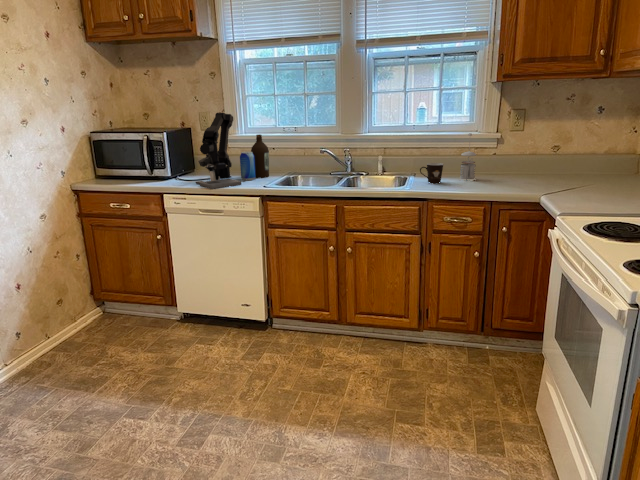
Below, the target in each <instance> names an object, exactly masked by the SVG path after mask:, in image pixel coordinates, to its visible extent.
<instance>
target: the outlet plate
mask: <svg viewBox="0 0 640 480" xmlns="http://www.w3.org/2000/svg"><path fill="white" fill-rule="evenodd" d="M199 186H200V187H202V188H206V189H209V190H216V189H217V190H218V189H225V188H229V186H231V187H236V186H242V181H241V180H237V179H233V178H230V177H229V178H220V180H214V181H210V180H207V181H204V182H200V185H199Z"/></svg>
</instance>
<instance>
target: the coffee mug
mask: <svg viewBox="0 0 640 480" xmlns="http://www.w3.org/2000/svg"><path fill="white" fill-rule="evenodd" d="M423 169H425V170H426V171H427V175H426V174H424V173H423V172H422V170H423ZM443 169H444V163H443V162H442V163H440V162H429V163H426V166H421V167H420V168H419V172H420V174H421V175H423V176H424V177H425V178H427V183H428V182H430V183H439V182H440V183H441V180H442V174H443ZM430 183H429V184H430ZM440 183H439V184H440Z"/></svg>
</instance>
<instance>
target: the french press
mask: <svg viewBox="0 0 640 480" xmlns="http://www.w3.org/2000/svg"><path fill="white" fill-rule="evenodd" d="M467 136H469V137H471V136H473V134H472V133H468V135H467ZM468 143H469V144H468V145H469V147H468V151H465V152H462V153H461V154H460V156H462V157H467V159H468V160H462V161H461V163H462V164H460V171H459V173H460V176H459V178H460V179H466V180H467V179H474V178H475V179H476V164H475V163H476V161H474V160H473V158H471V159H470V157H475V156H477V154H476V153H475V152H473V151H470V149H471V148H470V146H471V140H469V142H468Z"/></svg>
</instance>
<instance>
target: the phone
mask: <svg viewBox="0 0 640 480" xmlns="http://www.w3.org/2000/svg"><path fill="white" fill-rule="evenodd" d="M200 182H205V181H204V180H198V181H197V180H196V181H195V184H196V185H199V186H200Z"/></svg>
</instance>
